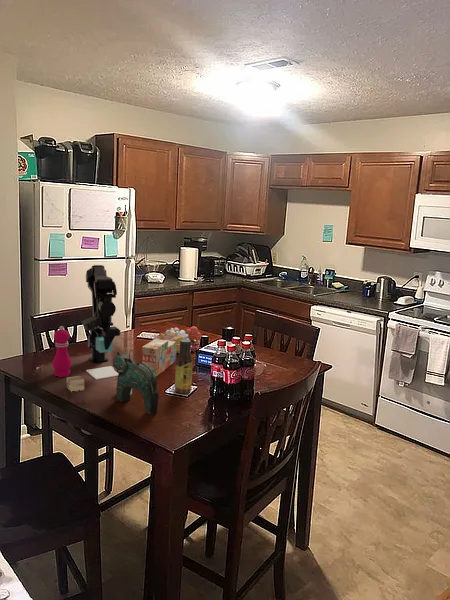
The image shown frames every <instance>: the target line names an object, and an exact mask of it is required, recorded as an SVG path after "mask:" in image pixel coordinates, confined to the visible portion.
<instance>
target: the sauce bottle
mask: <svg viewBox="0 0 450 600" xmlns="http://www.w3.org/2000/svg"><path fill="white" fill-rule="evenodd" d="M190 345H191V341H190V340H187V339H183V340H180V353H177V354H178V355H176V361H175V375H174V391H175V392H176V393H179V394H188V393H190V392H191V388H192V380H193V364H194V363H193V359H192V353H191V352H190Z"/></svg>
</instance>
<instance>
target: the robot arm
mask: <svg viewBox="0 0 450 600" xmlns="http://www.w3.org/2000/svg"><path fill="white" fill-rule="evenodd" d="M85 282H86V283H87V288H88V289H89V291H90V292H91V303H92V316H90V317H88V318H86V319H83V320H82V321H81V324H82V326H83V329H84V330H86V332H89V334H88V337H87V338H88V339H87V347H88V349H91V356H90V357H88V359H89V360H90V361H91V362H92V363H94V364H97V363H103V362H108V361H109V359H108V358H106V352H103V353H100V352H99V351H97V350H96V337H103V338H104V346H105V350H108V349H109V347H110V345H111V343H112V344H113V341H114V339H115V337H118V336H119V337H120V336H121V330H120V329H119V328H118V327H117V326H114V323H113V321H112V318H113V317H114V314H115V313H116V311H117V309H116V308H117V307H116V305H115V303H114V302H113V299H115V298H116V297H117V295H118V291H117V284H116V283H115V281H114V280H113V278H112V277H109V276H108V275H107V269H105V265H102V264H93V265H91V268H89V269H87V270H86V273H85Z"/></svg>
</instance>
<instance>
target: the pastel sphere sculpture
mask: <svg viewBox="0 0 450 600" xmlns="http://www.w3.org/2000/svg"><path fill="white" fill-rule="evenodd" d="M190 334H191V335H194V336H195V337H196V338H197V339H198V341H196V339H194V338H192V337H189V335H190ZM201 335H202V334H201V332H199V330H198V328H197V327H196V326H191V327H190V328H187V329H186V330H183V329H181V330H180V329H179V328H178V327H174V328H173V327H171V328H170V329H167V330H166V331H165V332H162V333H160V334H158V335H157V334H156V333H155V334H153V340H154V339H160V340H168V341H175V342H176V354H179V353H180V340H183V339H187V340H190V341H191V345H190V353H191V352H192V353H196V350H197V349H199V342H200V339H201V337H202V336H201Z"/></svg>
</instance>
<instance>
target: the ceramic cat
mask: <svg viewBox="0 0 450 600" xmlns="http://www.w3.org/2000/svg"><path fill="white" fill-rule="evenodd" d="M131 352H132V353H133V354H134V355H135V356H136V355H137V354H136V351H134V350H133V349H130V350H129V353H126V354H125V353H124V354H122V353H120V352H119V351H117V353H116V356H115V357H114V358H113V359H112V361H113V362H112V363H113V364H112V367H113V368H114V370H115V371H116V372H117V373H118V376H117V378H116V401H118V402H120V403H125V402H128V401H130V400H131V395H130V392H131V389H132V390H133V389H136V390H137V391H138V392H140V394H141V395H142V399H143V404H144V410H145V413H146V414H147V415H149V416H150V415H154V414H156V413H158V406H159V400H160V399H159V397H160V394H159V388H158V382H157V379H156V377H155V376H154V374H153V372H152V371H151V370H150V368H149V367H148V366H146V365H145V364H143V363H142V362H135V360H134V359H133V357H132V356H131Z"/></svg>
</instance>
